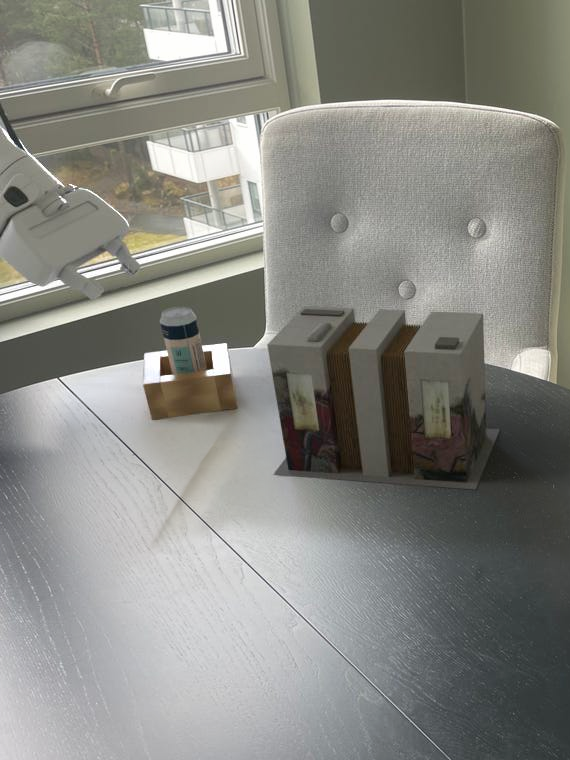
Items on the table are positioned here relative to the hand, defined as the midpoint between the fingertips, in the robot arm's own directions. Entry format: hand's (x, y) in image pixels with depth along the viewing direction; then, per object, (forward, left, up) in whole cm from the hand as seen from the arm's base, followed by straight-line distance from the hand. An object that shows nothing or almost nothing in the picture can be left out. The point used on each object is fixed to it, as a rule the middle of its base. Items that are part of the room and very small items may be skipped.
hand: (118, 283), depth 127 cm
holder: (+7, -1, -15) cm, 17 cm away
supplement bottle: (+7, -1, -16) cm, 17 cm away
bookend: (+37, -17, -16) cm, 44 cm away
